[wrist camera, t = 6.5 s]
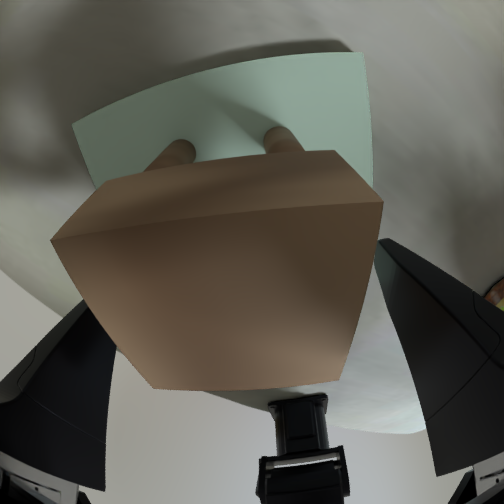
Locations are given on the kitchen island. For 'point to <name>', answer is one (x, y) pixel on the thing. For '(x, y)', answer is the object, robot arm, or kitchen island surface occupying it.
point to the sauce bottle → (497, 295)
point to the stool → (228, 265)
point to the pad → (236, 114)
